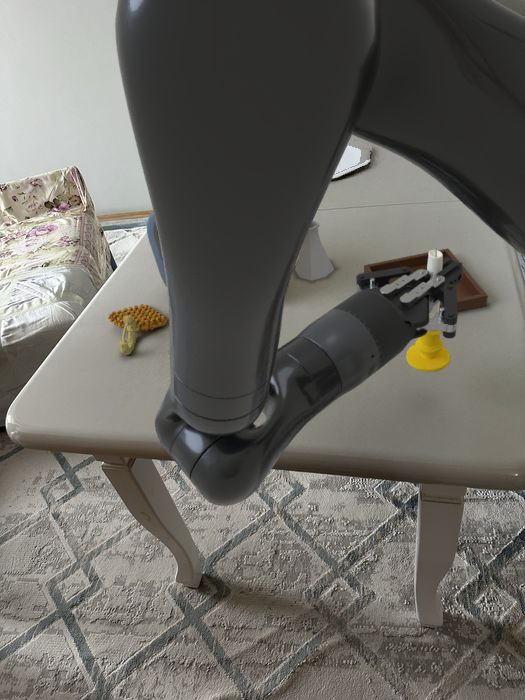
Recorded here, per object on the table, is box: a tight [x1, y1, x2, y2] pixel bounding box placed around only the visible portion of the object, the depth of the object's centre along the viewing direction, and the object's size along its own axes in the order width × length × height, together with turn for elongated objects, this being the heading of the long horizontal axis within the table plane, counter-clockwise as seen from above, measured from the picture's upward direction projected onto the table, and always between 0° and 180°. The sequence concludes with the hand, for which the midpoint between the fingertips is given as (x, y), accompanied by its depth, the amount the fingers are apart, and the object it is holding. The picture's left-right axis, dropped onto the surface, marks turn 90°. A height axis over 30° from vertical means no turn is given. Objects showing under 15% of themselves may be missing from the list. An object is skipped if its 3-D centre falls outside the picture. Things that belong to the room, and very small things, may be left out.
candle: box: [405, 248, 451, 373], centre depth 60 cm, size 5×5×16 cm
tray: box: [363, 248, 489, 313], centre depth 88 cm, size 16×16×3 cm
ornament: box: [108, 303, 168, 356], centre depth 91 cm, size 7×10×15 cm
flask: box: [294, 219, 335, 282], centre depth 96 cm, size 7×7×10 cm
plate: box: [332, 145, 371, 180], centre depth 138 cm, size 28×28×2 cm
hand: (453, 267), depth 58 cm, fingers closed on candle, 1 cm apart
